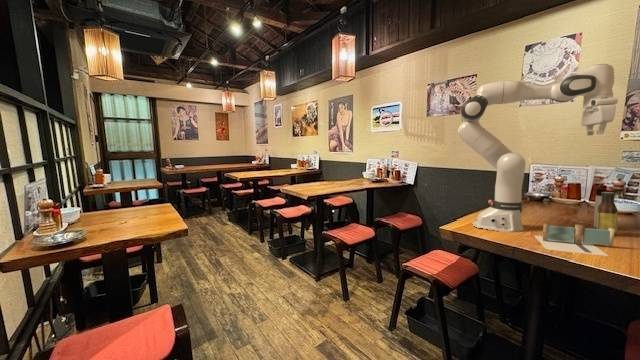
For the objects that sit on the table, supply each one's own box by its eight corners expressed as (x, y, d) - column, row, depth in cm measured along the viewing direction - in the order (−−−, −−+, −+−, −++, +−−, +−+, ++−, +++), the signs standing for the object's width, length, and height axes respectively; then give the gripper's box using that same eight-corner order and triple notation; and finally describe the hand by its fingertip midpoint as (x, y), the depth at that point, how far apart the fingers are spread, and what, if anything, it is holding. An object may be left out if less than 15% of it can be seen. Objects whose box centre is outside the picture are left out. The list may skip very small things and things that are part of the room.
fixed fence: (543, 241, 112) (544, 223, 111) (541, 239, 114) (542, 222, 114) (582, 245, 106) (584, 226, 106) (580, 243, 108) (581, 224, 108)
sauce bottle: (620, 237, 115) (624, 193, 113) (603, 236, 116) (607, 193, 114) (607, 233, 122) (611, 191, 120) (591, 232, 123) (594, 191, 121)
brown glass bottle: (588, 227, 131) (591, 188, 129) (602, 226, 131) (605, 187, 129) (601, 230, 125) (604, 189, 123) (615, 230, 125) (619, 189, 123)
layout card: (546, 250, 104) (546, 249, 104) (533, 236, 120) (534, 235, 120) (609, 257, 95) (609, 256, 95) (586, 241, 112) (586, 240, 112)
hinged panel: (583, 243, 106) (585, 227, 106) (582, 242, 108) (583, 226, 107) (614, 246, 102) (615, 229, 102) (612, 244, 104) (613, 228, 103)
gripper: (577, 107, 124) (575, 136, 125) (598, 100, 106) (595, 134, 107) (596, 105, 121) (593, 135, 122) (620, 98, 103) (617, 133, 104)
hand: (594, 134), depth 115 cm, fingers open, 8 cm apart
